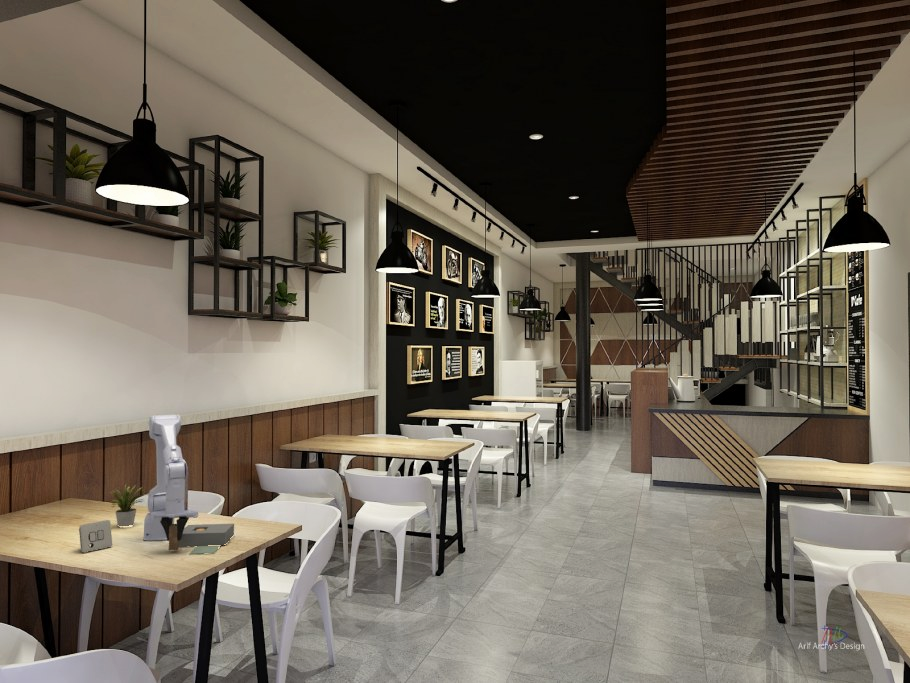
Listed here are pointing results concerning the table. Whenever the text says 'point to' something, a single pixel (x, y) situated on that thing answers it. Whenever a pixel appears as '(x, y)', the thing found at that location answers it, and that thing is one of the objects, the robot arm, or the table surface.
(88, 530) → the electrical switch
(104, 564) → the table surface
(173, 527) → the wooden peg
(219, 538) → the panel
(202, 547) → the mat
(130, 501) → the house plant
